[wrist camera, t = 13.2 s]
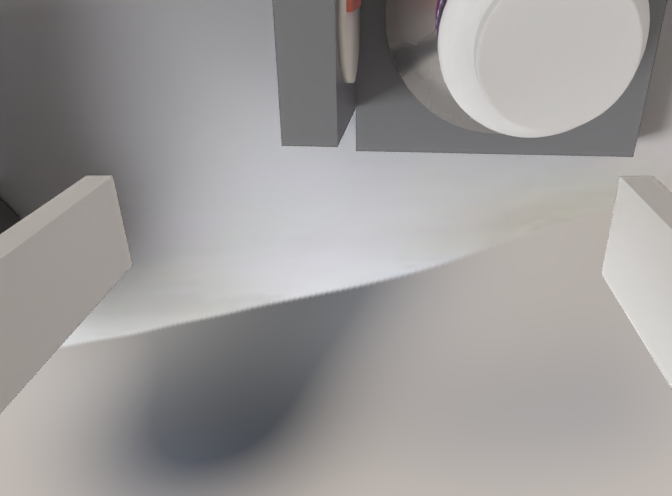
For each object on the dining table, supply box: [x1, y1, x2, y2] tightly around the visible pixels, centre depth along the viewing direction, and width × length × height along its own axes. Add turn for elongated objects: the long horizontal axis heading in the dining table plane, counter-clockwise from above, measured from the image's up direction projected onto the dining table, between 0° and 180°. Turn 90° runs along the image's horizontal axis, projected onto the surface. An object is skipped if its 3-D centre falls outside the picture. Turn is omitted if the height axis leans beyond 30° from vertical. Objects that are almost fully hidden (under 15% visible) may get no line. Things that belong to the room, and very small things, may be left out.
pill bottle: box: [435, 0, 650, 138], centre depth 26 cm, size 8×8×14 cm
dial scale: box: [273, 0, 667, 157], centre depth 32 cm, size 21×18×12 cm
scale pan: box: [385, 0, 502, 134], centre depth 34 cm, size 14×14×2 cm
